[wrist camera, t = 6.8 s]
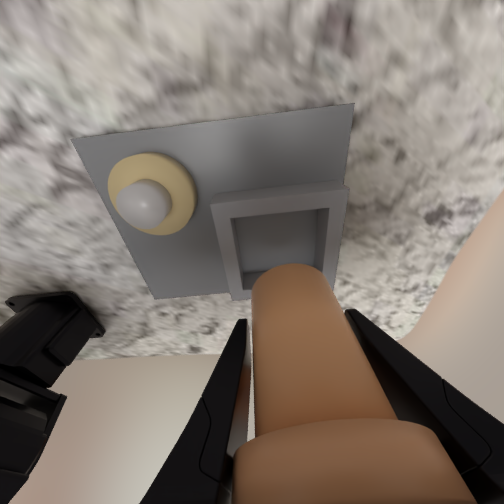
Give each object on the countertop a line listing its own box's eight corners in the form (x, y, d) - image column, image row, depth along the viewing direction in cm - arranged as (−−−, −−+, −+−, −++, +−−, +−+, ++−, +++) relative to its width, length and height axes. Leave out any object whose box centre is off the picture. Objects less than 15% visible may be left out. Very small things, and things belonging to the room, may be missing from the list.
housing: (158, 291, 19) (140, 327, 16) (82, 138, 12) (20, 143, 9) (325, 275, 19) (342, 309, 15) (346, 104, 12) (387, 97, 8)
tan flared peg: (245, 329, 12) (245, 531, 6) (232, 258, 9) (206, 508, 3) (334, 322, 12) (422, 522, 6) (348, 247, 9) (545, 489, 3)
